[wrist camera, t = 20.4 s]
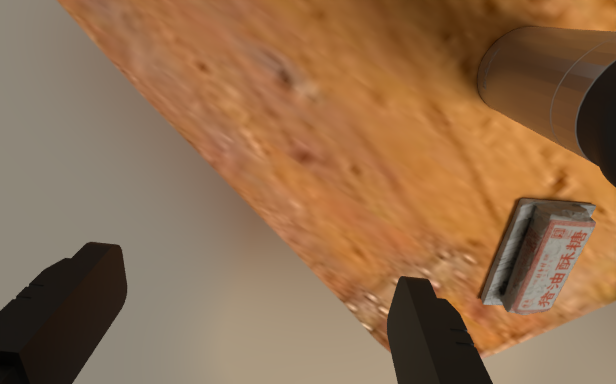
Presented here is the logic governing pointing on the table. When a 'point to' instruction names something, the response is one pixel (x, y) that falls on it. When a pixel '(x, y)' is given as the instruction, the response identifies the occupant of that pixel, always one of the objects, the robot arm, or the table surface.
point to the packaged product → (537, 254)
